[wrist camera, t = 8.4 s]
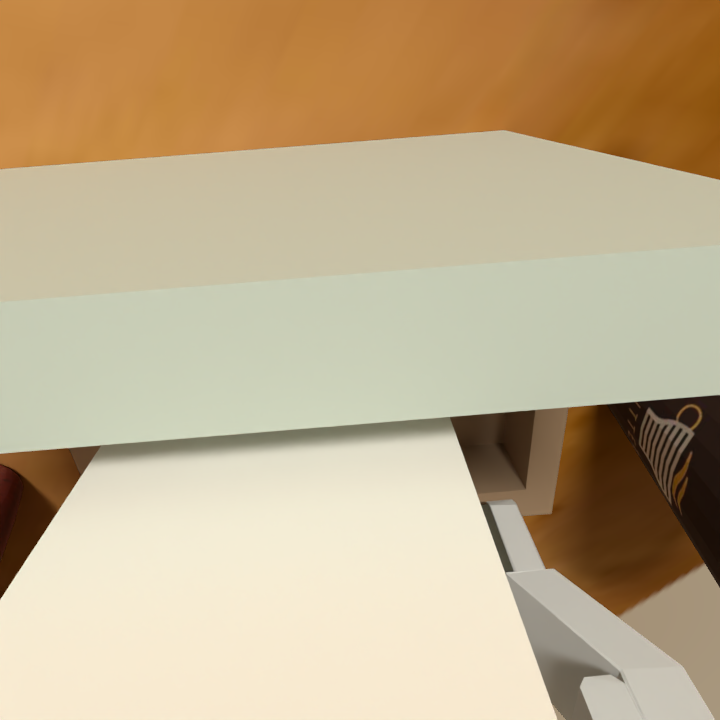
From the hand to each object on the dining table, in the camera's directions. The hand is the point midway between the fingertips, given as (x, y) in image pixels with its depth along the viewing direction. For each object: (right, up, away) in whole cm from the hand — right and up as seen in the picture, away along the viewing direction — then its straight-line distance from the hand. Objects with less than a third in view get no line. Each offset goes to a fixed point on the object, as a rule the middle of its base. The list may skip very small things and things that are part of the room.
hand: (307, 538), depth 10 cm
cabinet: (0, +2, +3) cm, 4 cm away
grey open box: (-3, +6, +10) cm, 12 cm away
